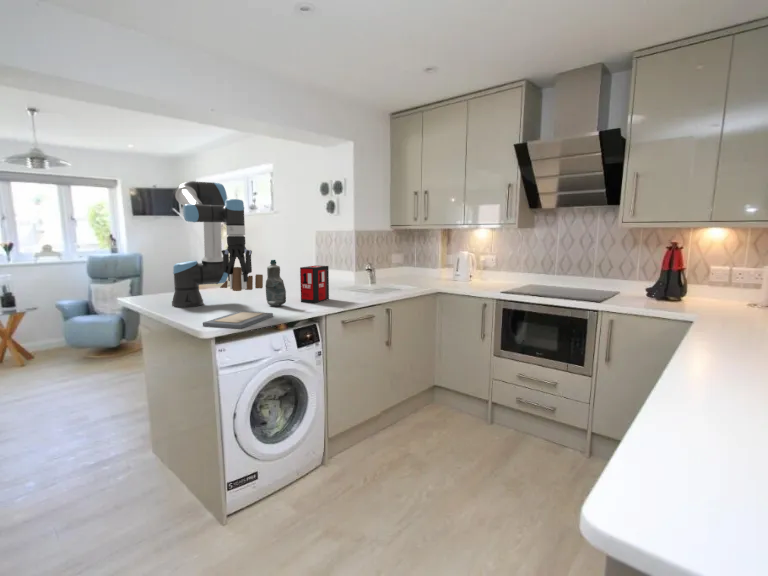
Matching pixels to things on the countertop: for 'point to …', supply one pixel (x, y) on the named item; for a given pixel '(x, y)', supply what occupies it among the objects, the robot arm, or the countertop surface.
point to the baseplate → (238, 319)
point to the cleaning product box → (314, 284)
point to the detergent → (275, 285)
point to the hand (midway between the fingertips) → (238, 288)
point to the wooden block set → (238, 285)
